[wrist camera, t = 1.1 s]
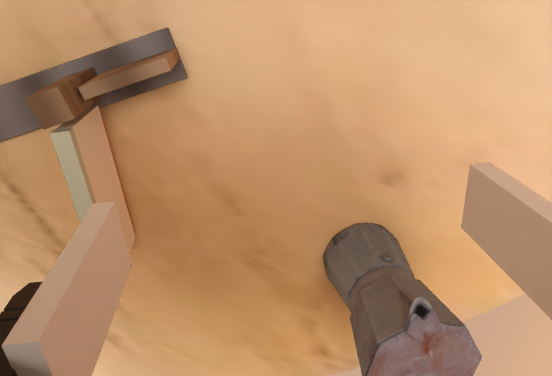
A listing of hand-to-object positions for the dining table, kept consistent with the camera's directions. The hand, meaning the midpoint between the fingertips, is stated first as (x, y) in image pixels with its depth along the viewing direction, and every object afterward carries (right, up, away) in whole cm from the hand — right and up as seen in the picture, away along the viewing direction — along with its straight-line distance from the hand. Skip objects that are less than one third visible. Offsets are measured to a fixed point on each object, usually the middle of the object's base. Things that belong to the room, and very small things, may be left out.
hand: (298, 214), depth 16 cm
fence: (-28, +7, +22) cm, 36 cm away
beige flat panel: (-17, +2, +25) cm, 30 cm away
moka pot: (+9, -7, +33) cm, 35 cm away
